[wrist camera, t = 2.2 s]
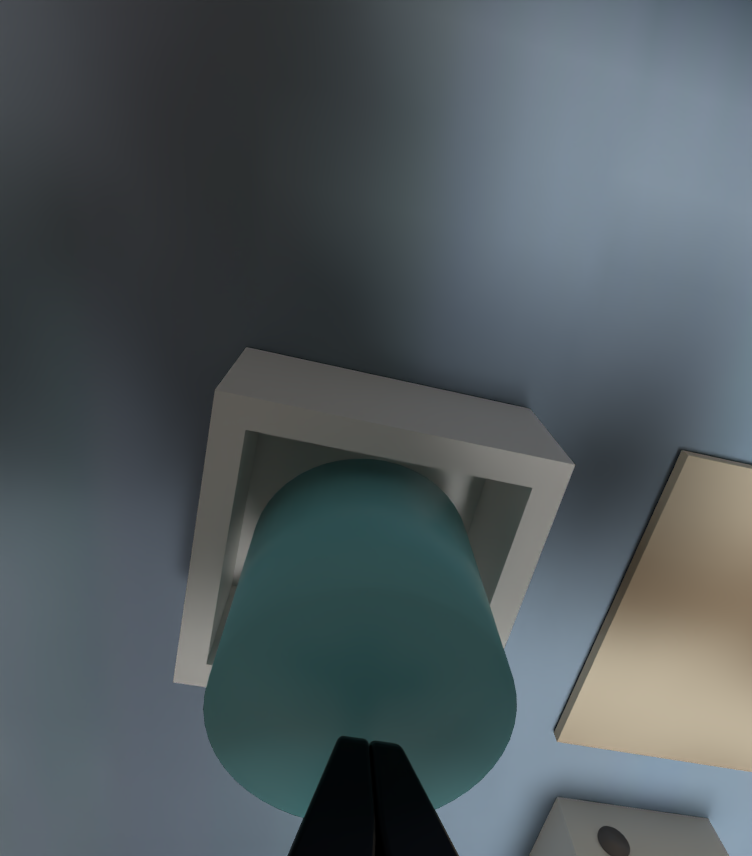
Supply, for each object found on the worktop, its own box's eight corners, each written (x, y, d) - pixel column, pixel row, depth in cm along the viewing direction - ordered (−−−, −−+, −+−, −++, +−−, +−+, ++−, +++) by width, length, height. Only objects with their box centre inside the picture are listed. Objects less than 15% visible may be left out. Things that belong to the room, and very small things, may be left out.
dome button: (436, 658, 13) (467, 841, 9) (236, 625, 13) (185, 804, 9) (495, 483, 12) (559, 619, 8) (270, 438, 11) (227, 559, 7)
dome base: (453, 633, 16) (473, 728, 13) (208, 591, 15) (173, 682, 12) (530, 408, 13) (575, 465, 11) (246, 346, 13) (215, 389, 10)
